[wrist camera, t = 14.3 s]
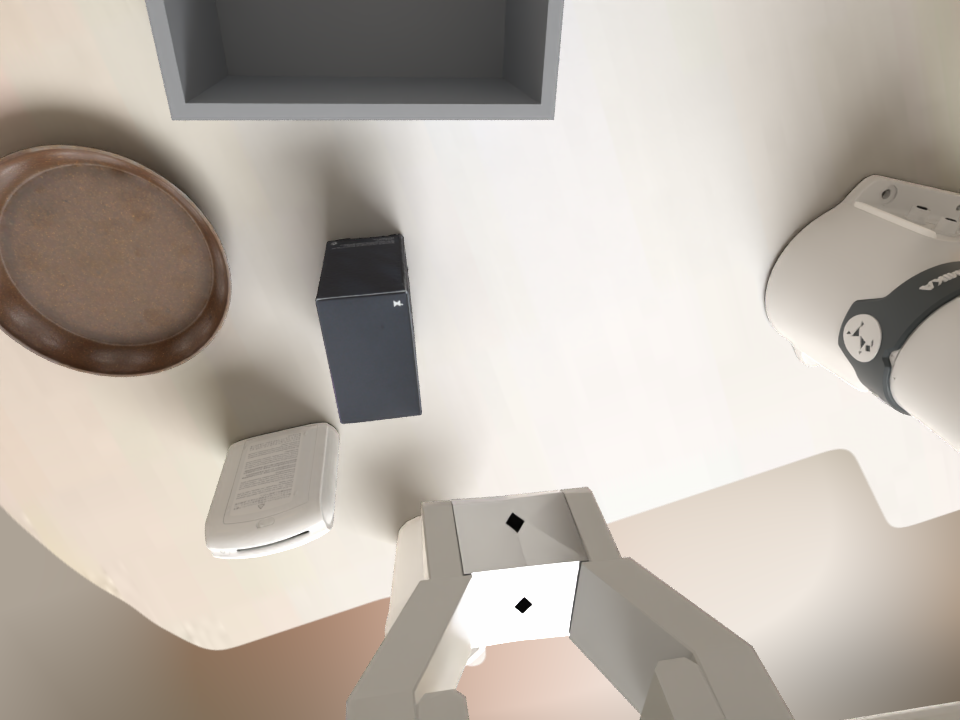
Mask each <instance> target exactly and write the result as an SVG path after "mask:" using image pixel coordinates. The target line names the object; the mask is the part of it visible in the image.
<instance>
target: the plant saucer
mask: <svg viewBox="0 0 960 720" xmlns="http://www.w3.org/2000/svg"><path fill="white" fill-rule="evenodd" d="M230 300H231V274H230V268H229V264H228V260H227V257H226V254H225V251H224V248H223V246H222V243H221V241H220V239H219V237H218V235H217V233H216V232H215V230H214V228H213V227H212V225H211V223H210V222H209V221H208V219H207V218H206V217H205V215H204V214H203V213H202V211H201V210H200V209H199V208H198V207H197V206H196V204H195V203H194V202H193V201H192V200H191V199H190V198H189V197H188V196H187V195H186V194H184V193H183V192H182V191H181V190H180V189H179V188H177V187H176V186H175V185H174V184H172V183H171V182H170V181H168V180H167V179H165V178H164V177H162V176H161V175H159V174H158V173H156V172H154V171H153V170H151V169H149V168H147V167H146V166H144V165H142V164H140V163H138V162H136V161H133V160H131V159H129V158H126V157H124V156H121V155H118V154H115V153H112V152H108V151H104V150H100V149H95V148H90V147H84V146H76V145H43V146H37V147H31V148H27V149H22V150H19V151H17V152H14V153H11V154H9V155H6V156H4V157H2V158H0V329H1V330H2V331H3V332H4V333H5V334H7V335H8V336H9V337H10V338H12V339H13V340H15V341H16V342H17V343H19V344H20V345H22V346H23V347H25V348H26V349H28V350H29V351H31V352H33V353H35V354H36V355H38V356H40V357H42V358H44V359H46V360H48V361H50V362H53V363H55V364H58V365H61V366H64V367H67V368H69V369H73V370H76V371H80V372H85V373H89V374H94V375H100V376H111V377H135V376H143V375H150V374H155V373H159V372H162V371H166V370H169V369H171V368H174V367H176V366H179V365H181V364H183V363H185V362H187V361H188V360H190V359H191V358H193V357H194V356H196V355H197V354H198V353H200V352H201V351H202V350H203V349H204V348H206V347H207V346H208V345H209V344H210V342H211V341H212V340H213V339H214V338H215V336H216V335H217V334H218V332H219V330H220V329H221V327H222V325H223V323H224V321H225V318H226V316H227V312H228V309H229V305H230Z"/></svg>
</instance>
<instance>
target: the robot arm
mask: <svg viewBox="0 0 960 720" xmlns="http://www.w3.org/2000/svg"><path fill="white" fill-rule="evenodd" d="M884 191H885V192H884ZM883 192H884V194H883V195H882V193H883ZM765 305H766V312H767V316H768V319H769V321H770V323H771V325H772V327H773V328H774V329H775V331H776V332H777V333H778V334H780V335H781V336H782V337H783V338H785V339H786V340H788V341H789V342H790V343H791V344H792V345H793V347H794V350H795V353H796V356H797V358H798V359H799V361H800V362H802V363H803V364H805V365H806V366H808V367H816V366H822V367H824V368H825V369H827V370H828V371H830V372H831V373H833V374H834V375H836V376H837V377H839V378H840V379H842V380H843V381H845V382H846V383H848V384H849V385H851V386H852V387H854V388H855V389H857V390H859V391H863V392H867V391H871V392H872V394H873V395H875V396H876V397H877V398H878V399H879V400H881V401H882V402H883V403H885V404H887V405H889V406H891V407H893V408H894V409H895V410H897V411H899V412H901V413H903V414H906V415H910V416H913V417H914V418H915V419H917V420H918V421H919V422H921V423H922V424H923V425H924V426H926V427H927V428H928V429H929V430H931V431H932V432H933V433H935V434H936V435H937V436H938V437H940V438H941V439H942V440H943V441H945V442H946V443H947V444H948V445H950V446H951V447H952V448H954V449H955V450H956V451H957V452H959V453H960V193H955V192H951V191H946V190H942V189H937V188H933V187H929V186H924V185H920V184H915V183H911V182H906V181H902V180H897V179H893V178H888V177H884V176H880V175H872V176H869V177H867V178H865V179H864V180H863V181H861V182H860V183H859V184H858V185H857V186H856V187H855V188H854V189H853V190H852V191H851V192H850V194H849V195H848V196H847V197H846V198H845V199H844V200H843V201H842V202H841V203H840V204H839V205H837V206H836V207H834V208H833V209H831V210H830V211H828V212H826V213H825V214H823V215H821V216H820V217H818V218H817V219H815V220H814V221H812V222H811V223H810V224H809V225H807V226H806V227H805V228H804V229H803V230H802V231H800V232H799V233H798V234H797V235H796V236H795V237H794V239H793V240H792V241H791V242H790V243H789V244H788V246H787V247H786V248H785V249H784V251H783V252H782V254H781V255H780V257H779V259H778V260H777V262H776V264H775V266H774V268H773V270H772V273H771V275H770V278H769V281H768V285H767V289H766V297H765ZM421 524H422V553H423V573H424V580H421V581H419V583H418V585H417V586H416V588H415V589H414V591H413V593H412V594H411V596H410V598H409V599H408V601H407V603H406V604H405V606H404V608H403V609H402V611H401V612H400V614H399V616H398V617H397V619H396V621H395V622H394V624H393V626H392V627H391V629H390V630H389V632H388V634H387V635H386V637H385V639H384V641H383V642H382V644H381V645H380V647H379V649H378V650H377V652H376V654H375V655H374V657H373V658H372V660H371V662H370V663H369V665H368V666H367V668H366V670H365V671H364V673H363V675H362V676H361V678H360V680H359V681H358V683H357V685H356V686H355V688H354V690H353V691H352V693H351V694H350V696H349V698H348V699H347V701H346V720H469V716H468V709H467V702H466V697H465V696H464V695H463V694H461V693H460V692H458V691H456V687H457V685H458V682H459V680H460V677H461V675H462V672H463V670H464V668H465V665H466V663H467V661H468V658H469V656H470V653H471V648H474V647H480V646H486V645H493V644H499V643H505V642H511V641H517V640H527V639H537V638H547V637H557V636H567V635H569V638H570V639H571V640H572V642H573V643H574V644H575V645H576V646H577V647H578V648H579V649H580V650H581V651H582V652H583V653H584V654H585V656H586V657H587V658H588V659H589V660H590V661H591V662H592V663H593V664H594V665H595V666H596V667H597V668H598V669H599V671H600V672H601V673H602V674H603V675H604V676H605V677H606V678H607V679H608V680H609V681H610V682H611V683H612V684H613V686H614V687H615V688H616V689H617V690H618V691H619V692H620V693H621V694H622V695H623V696H624V697H625V698H626V699H627V701H628V702H629V703H630V704H631V705H632V706H633V707H634V708H635V709H636V710H637V711H638V712H639V713H640V715H641V717H640V720H795V719H794V717H793V715H792V714H791V712H790V710H789V709H788V707H787V705H786V703H785V702H784V700H783V698H782V696H781V695H780V693H779V691H778V690H777V688H776V686H775V684H774V683H773V681H772V679H771V677H770V676H769V674H768V672H767V671H766V669H765V667H764V665H763V664H762V662H761V660H760V659H759V657H758V655H757V653H756V652H755V650H754V648H753V646H751V645H750V644H749V643H747V642H746V641H745V640H743V639H742V638H740V637H739V636H738V635H736V634H735V633H734V632H732V631H731V630H729V629H728V628H727V627H725V626H724V625H723V624H721V623H720V622H718V621H717V620H716V619H714V618H713V617H711V616H710V615H709V614H707V613H706V612H705V611H703V610H702V609H701V608H699V607H698V606H697V605H695V604H694V603H692V602H691V601H690V600H688V599H687V598H685V597H684V596H683V595H681V594H680V593H678V592H677V591H676V590H674V589H673V588H672V587H670V586H669V585H668V584H666V583H665V582H664V581H662V580H661V579H659V578H658V577H657V576H655V575H654V574H652V573H651V572H650V571H648V570H647V569H646V568H644V567H643V566H641V565H640V564H639V563H637V562H636V561H635V560H633V559H632V558H631V557H627V558H622V557H621V555H620V553H619V551H618V548H617V546H616V544H615V542H614V539H613V537H612V535H611V533H610V530H609V528H608V527H607V524H606V522H605V519H604V517H603V515H602V513H601V510H600V508H599V506H598V504H597V502H596V499H595V497H594V495H593V493H592V491H591V490H590V489H589V488H588V487H582V488H572V489H562V490H560V491H559V490H553V491H544V492H534V493H524V494H515V495H505V496H496V497H482V498H467V499H452V500H451V501H450V500H448V501H432V502H422V503H421ZM846 720H960V701H958V702H951V703H945V704H939V705H933V706H927V707H921V708H914V709H909V710H902V711H896V712H890V713H884V714H877V715H871V716H865V717H859V718H852V719H846Z"/></svg>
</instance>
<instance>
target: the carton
mask: <svg viewBox="0 0 960 720" xmlns="http://www.w3.org/2000/svg"><path fill="white" fill-rule="evenodd" d="M145 2H146V7H147V11H148V16H149V20H150V25H151V29H152V33H153V38H154V42H155V47H156V51H157V56H158V60H159V64H160V69H161V73H162V78H163V82H164V87H165V91H166V96H167V100H168V104H169V109H170V113H171V118H172V120H554V113H555V101H556V89H557V77H558V65H559V54H560V42H561V30H562V18H563V6H564V0H145Z"/></svg>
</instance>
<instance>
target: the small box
mask: <svg viewBox="0 0 960 720" xmlns="http://www.w3.org/2000/svg"><path fill="white" fill-rule="evenodd" d="M315 301H316V307H317V311H318V316H319V321H320V326H321V330H322V335H323V340H324V345H325V349H326V354H327V359H328V364H329V369H330V374H331V378H332V383H333V388H334V393H335V398H336V403H337V408H338V413H339V418H340V422H341V423H342V424H346V423H357V422H366V421H375V420H383V419H392V418H400V417H408V416H417V415H421V414H422V409H421V399H420V389H419V380H418V369H417V359H416V347H415V337H414V327H413V318H412V306H411V298H410V288H409V277H408V267H407V262H406V254H405V247H404V237H403V236H402V235H400V234H398V235H396V234H394V235H390V236H381V237H370V238H359V239H343V240H336V241H329V242H327V245H326V251H325V256H324V261H323V267H322V272H321V277H320V282H319V287H318V292H317V297H316V300H315Z"/></svg>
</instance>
